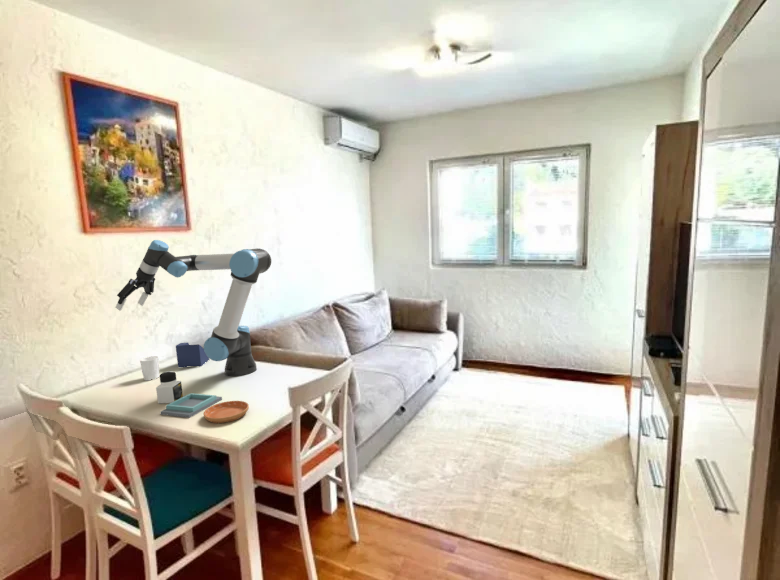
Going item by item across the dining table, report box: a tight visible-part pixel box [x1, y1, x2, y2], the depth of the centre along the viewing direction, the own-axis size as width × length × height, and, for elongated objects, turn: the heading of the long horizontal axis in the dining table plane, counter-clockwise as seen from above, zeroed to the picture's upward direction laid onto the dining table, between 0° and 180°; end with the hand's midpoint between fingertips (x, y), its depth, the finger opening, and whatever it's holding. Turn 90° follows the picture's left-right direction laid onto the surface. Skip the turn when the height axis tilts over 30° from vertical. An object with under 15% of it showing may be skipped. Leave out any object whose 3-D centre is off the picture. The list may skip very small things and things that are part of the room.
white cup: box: [139, 356, 160, 381], centre depth 212 cm, size 8×8×10 cm
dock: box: [159, 392, 223, 418], centre depth 173 cm, size 18×14×3 cm
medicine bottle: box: [155, 370, 184, 404], centre depth 181 cm, size 7×7×12 cm
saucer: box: [202, 400, 249, 424], centre depth 162 cm, size 16×16×3 cm
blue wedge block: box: [175, 342, 210, 368], centre depth 233 cm, size 12×12×12 cm
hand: (129, 306), depth 209 cm, fingers open, 13 cm apart
